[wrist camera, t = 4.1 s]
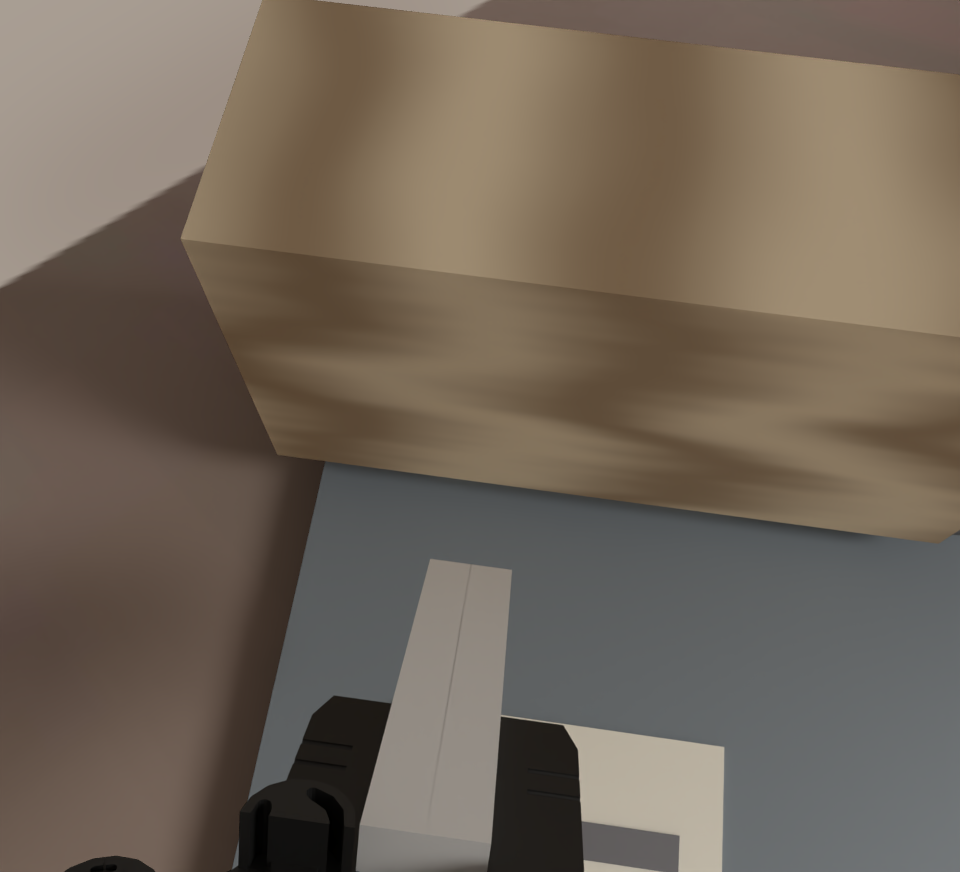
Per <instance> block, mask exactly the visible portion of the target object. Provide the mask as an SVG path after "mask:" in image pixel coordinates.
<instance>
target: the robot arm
mask: <svg viewBox="0 0 960 872" xmlns="http://www.w3.org/2000/svg"><path fill="white" fill-rule="evenodd" d="M511 577H512V570H509V569H502V568H495V567H487V566H480V565H472V564H465V563H458V562H450V561H443V560H436V559H430V562H429V565H428V569H427V573H426V577H425V581H424V584H423V588H422V592H421V596H420V599H419V603H418V607H417V611H416V614H415V618H414V622H413V626H412V630H411V633H410V637H409V641H408V645H407V648H406V652H405V656H404V660H403V664H402V667H401V671H400V675H399V679H398V682H397V686H396V690H395V694H394V697H393V701H392V703H385V702H378V701H371V700H364V699H357V698H350V697H342V696H335V695H334V696H333V697H331V698H330V699H329V700H328V701H327V702H326V703H325V704H323V705H322V706H321V707H320V708H319V709H318V710H317V711H316V712H314V713H313V714H312V716H311V719H310V721H309V724H308V726H307V729H306V731H305V734H304V736H303V740H302V744H300V747H299V749H298V752H297V754H296V757H295V761H294V764H292V767H291V769H290V772H289V774H288V777H287V780H285V781H282V782H278V783H275V784H271V785H268V786H266V787H265V788H263V789H262V790H260V791H259V792H257V793H255V794H254V795H252V796H251V797H250V798H249V800H248V801H247V802H246V804H245V805H244V807H243V808H242V809H241V811H240V823H239V856H238V866H237V867H235V868H234V869H232V870H230V871H228V872H584V858H583V838H582V818H581V802H580V780H579V759H578V749H577V747H576V745H575V744H574V742H573V740H572V739H571V737H570V735H569V734H568V732H567V730H566V729H565V727H564V726H563V725H559V724H552V723H544V722H537V721H530V720H523V719H516V718H509V717H502V716H501V708H502V695H503V682H504V668H505V655H506V642H507V629H508V616H509V603H510V590H511ZM65 872H155V871H154V869H152V868H150V867H149V866H147V865H146V864H144V863H143V862H141V861H139V860H137V859H132V858H126V857H121V856H111V857H102V858H94V859H91V860H88V861H86V862H83V863H81V864H78V865H76V866H73V867H71V868H69V869H67V870H66V871H65Z"/></svg>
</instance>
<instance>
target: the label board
mask: <svg viewBox="0 0 960 872" xmlns="http://www.w3.org/2000/svg"><path fill="white" fill-rule="evenodd" d="M430 559H436V560H443V561H450V562H458V563H465V564H472V565H480V566H487V567H495V568H502V569H509V570H512V577H511V590H510V603H509V616H508V629H507V642H506V655H505V668H504V682H503V695H502V708H501V716H502V717H509V718H516V719H523V720H530V721H537V722H544V723H552V724H559V725H563V726H564V727H565V729H566V730H567V732H568V734H569V735H570V737H571V739H572V740H573V742H574V744H575V745H576V747H577V749H578V759H579V780H580V802H581V818H582V838H583V858H584V872H960V530H959V531H957V532H956V533H954V534H953V535H951V536H950V537H948V538H947V539H945V540H943V541H942V542H940V543H939V544H936V543H929V542H922V541H914V540H907V539H899V538H892V537H884V536H877V535H870V534H862V533H855V532H847V531H840V530H833V529H825V528H818V527H810V526H803V525H795V524H788V523H781V522H773V521H766V520H758V519H751V518H743V517H736V516H729V515H721V514H714V513H706V512H699V511H691V510H684V509H677V508H669V507H662V506H654V505H647V504H639V503H632V502H625V501H617V500H610V499H602V498H595V497H587V496H580V495H573V494H565V493H558V492H550V491H543V490H535V489H528V488H521V487H513V486H506V485H498V484H491V483H483V482H476V481H469V480H461V479H454V478H446V477H439V476H431V475H424V474H417V473H409V472H402V471H394V470H387V469H379V468H372V467H365V466H357V465H350V464H342V463H335V462H327V461H325V465H324V469H323V473H322V478H321V482H320V487H319V491H318V495H317V500H316V504H315V508H314V513H313V517H312V522H311V526H310V530H309V535H308V539H307V543H306V548H305V552H304V557H303V561H302V565H301V570H300V574H299V578H298V583H297V587H296V592H295V596H294V600H293V605H292V609H291V613H290V618H289V622H288V627H287V631H286V635H285V640H284V644H283V648H282V653H281V657H280V662H279V666H278V670H277V675H276V679H275V683H274V688H273V692H272V697H271V701H270V705H269V710H268V714H267V718H266V723H265V727H264V732H263V736H262V740H261V745H260V749H259V753H258V758H257V762H256V766H255V771H254V775H253V780H252V784H251V788H250V793H249V797H248V800H249V798H250V797H251V796H252V795H254V794H255V793H257V792H259V791H260V790H262V789H263V788H265V787H266V786H268V785H271V784H275V783H278V782H282V781H285V780H287V777H288V774H289V772H290V769H291V767H292V764H294V761H295V757H296V754H297V752H298V749H299V747H300V744H302V740H303V736H304V734H305V731H306V729H307V726H308V724H309V721H310V719H311V716H312V714H313V713H314V712H316V711H317V710H318V709H319V708H320V707H321V706H322V705H323V704H325V703H326V702H327V701H328V700H329V699H330V698H331V697H333V696H334V695H335V696H342V697H350V698H357V699H364V700H371V701H378V702H385V703H392V701H393V697H394V694H395V690H396V686H397V682H398V679H399V675H400V671H401V667H402V664H403V660H404V656H405V652H406V648H407V645H408V641H409V637H410V633H411V630H412V626H413V622H414V618H415V614H416V611H417V607H418V603H419V599H420V596H421V592H422V588H423V584H424V581H425V577H426V573H427V569H428V565H429V562H430ZM238 856H239V841H238V845H237V850H236V854H235V858H234V863H233V867H232V869H234V868H235V867H237V866H238Z"/></svg>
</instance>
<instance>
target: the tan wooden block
mask: <svg viewBox="0 0 960 872" xmlns="http://www.w3.org/2000/svg"><path fill="white" fill-rule="evenodd" d="M181 241H182V243H183V246H184V248H185V250H186V252H187V255H188V257H189V259H190V261H191V263H192V266H193V268H194V270H195V272H196V275H197V277H198V279H199V281H200V284H201V286H202V288H203V290H204V292H205V295H206V297H207V299H208V301H209V304H210V306H211V308H212V310H213V313H214V315H215V317H216V319H217V321H218V324H219V326H220V328H221V330H222V333H223V335H224V337H225V339H226V341H227V344H228V346H229V348H230V350H231V353H232V355H233V357H234V359H235V362H236V364H237V366H238V368H239V370H240V373H241V375H242V377H243V379H244V382H245V384H246V386H247V388H248V391H249V393H250V395H251V397H252V399H253V402H254V404H255V406H256V408H257V411H258V413H259V415H260V417H261V419H262V422H263V424H264V426H265V428H266V431H267V433H268V435H269V437H270V440H271V442H272V444H273V446H274V448H275V451H276V453H277V455H283V456H290V457H298V458H305V459H313V460H320V461H327V462H335V463H342V464H350V465H357V466H365V467H372V468H379V469H387V470H394V471H402V472H409V473H417V474H424V475H431V476H439V477H446V478H454V479H461V480H469V481H476V482H483V483H491V484H498V485H506V486H513V487H521V488H528V489H535V490H543V491H550V492H558V493H565V494H573V495H580V496H587V497H595V498H602V499H610V500H617V501H625V502H632V503H639V504H647V505H654V506H662V507H669V508H677V509H684V510H691V511H699V512H706V513H714V514H721V515H729V516H736V517H743V518H751V519H758V520H766V521H773V522H781V523H788V524H795V525H803V526H810V527H818V528H825V529H833V530H840V531H847V532H855V533H862V534H870V535H877V536H884V537H892V538H899V539H907V540H914V541H922V542H929V543H936V544H939V543H940V542H942V541H943V540H945V539H947V538H948V537H950V536H951V535H953V534H954V533H956V532H957V531H959V530H960V75H958V74H949V73H941V72H932V71H923V70H915V69H906V68H897V67H889V66H880V65H871V64H863V63H854V62H845V61H837V60H828V59H819V58H811V57H802V56H793V55H785V54H776V53H767V52H759V51H750V50H741V49H733V48H724V47H715V46H707V45H698V44H689V43H681V42H672V41H663V40H655V39H646V38H637V37H629V36H620V35H611V34H602V33H594V32H585V31H576V30H568V29H559V28H550V27H542V26H533V25H524V24H516V23H507V22H498V21H490V20H481V19H472V18H464V17H455V16H446V15H438V14H429V13H419V12H412V11H403V10H394V9H386V8H377V7H368V6H359V5H351V4H342V3H334V2H325V1H316V0H262V3H261V6H260V9H259V12H258V15H257V18H256V20H255V23H254V26H253V29H252V32H251V35H250V38H249V41H248V44H247V47H246V50H245V52H244V55H243V58H242V61H241V64H240V67H239V70H238V73H237V76H236V79H235V82H234V84H233V87H232V90H231V94H230V96H229V99H228V102H227V105H226V108H225V111H224V114H223V117H222V119H221V122H220V125H219V128H218V131H217V134H216V137H215V140H214V143H213V146H212V149H211V152H210V154H209V157H208V160H207V163H206V166H205V169H204V172H203V175H202V178H201V181H200V184H199V186H198V189H197V192H196V195H195V198H194V201H193V204H192V207H191V210H190V213H189V216H188V218H187V221H186V224H185V227H184V230H183V233H182V236H181Z"/></svg>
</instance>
